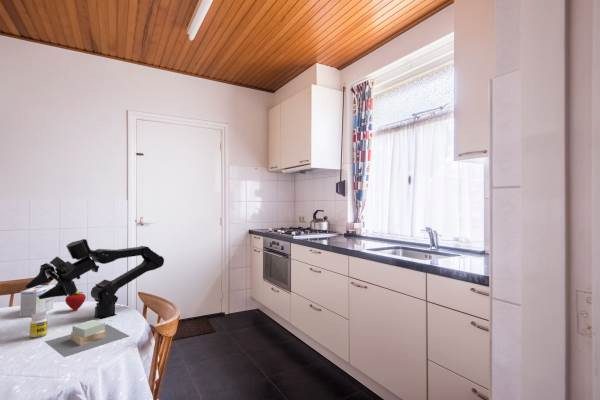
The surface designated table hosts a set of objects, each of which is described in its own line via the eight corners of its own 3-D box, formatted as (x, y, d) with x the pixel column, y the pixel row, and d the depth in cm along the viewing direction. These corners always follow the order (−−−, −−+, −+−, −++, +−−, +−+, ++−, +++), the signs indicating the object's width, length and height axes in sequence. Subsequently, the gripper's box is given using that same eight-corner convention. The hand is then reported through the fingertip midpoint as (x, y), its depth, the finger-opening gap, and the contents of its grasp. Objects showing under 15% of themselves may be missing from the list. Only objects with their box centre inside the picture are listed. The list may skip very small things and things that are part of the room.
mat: (107, 325, 124) (107, 324, 124) (129, 337, 114) (129, 336, 114) (44, 342, 108) (44, 341, 108) (64, 358, 98) (64, 357, 98)
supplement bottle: (36, 341, 109) (37, 317, 109) (25, 339, 110) (26, 315, 110) (50, 335, 114) (50, 312, 114) (39, 334, 115) (40, 311, 115)
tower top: (92, 326, 116) (92, 319, 116) (104, 330, 113) (104, 323, 113) (72, 333, 109) (72, 326, 109) (84, 337, 106) (84, 329, 106)
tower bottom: (95, 332, 117) (96, 325, 117) (105, 337, 112) (105, 330, 112) (70, 339, 110) (71, 332, 110) (80, 345, 105) (80, 338, 105)
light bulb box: (38, 308, 142) (39, 284, 142) (53, 308, 143) (54, 284, 143) (19, 316, 131) (19, 291, 132) (35, 316, 132) (36, 291, 132)
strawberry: (64, 310, 140) (65, 288, 140) (84, 307, 145) (85, 285, 145) (65, 314, 136) (66, 291, 136) (86, 310, 140) (87, 288, 141)
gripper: (59, 244, 125) (11, 265, 113) (86, 262, 117) (38, 286, 105) (67, 265, 130) (22, 288, 118) (93, 284, 123) (48, 310, 110)
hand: (32, 292), depth 113 cm, fingers open, 9 cm apart
